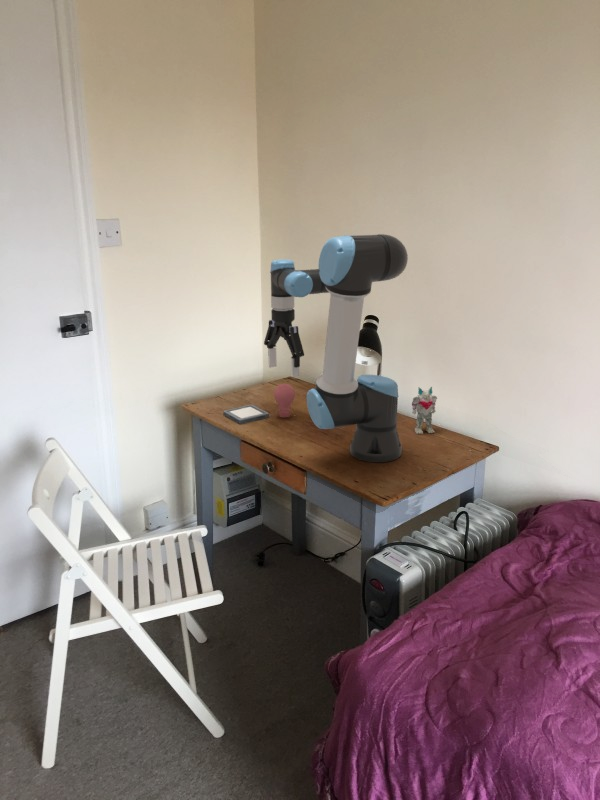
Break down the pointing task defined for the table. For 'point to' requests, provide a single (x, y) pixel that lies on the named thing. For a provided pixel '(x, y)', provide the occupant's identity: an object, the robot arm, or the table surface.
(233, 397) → the table surface
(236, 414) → the holder
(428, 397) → the figurine
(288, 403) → the light bulb
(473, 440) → the table surface
